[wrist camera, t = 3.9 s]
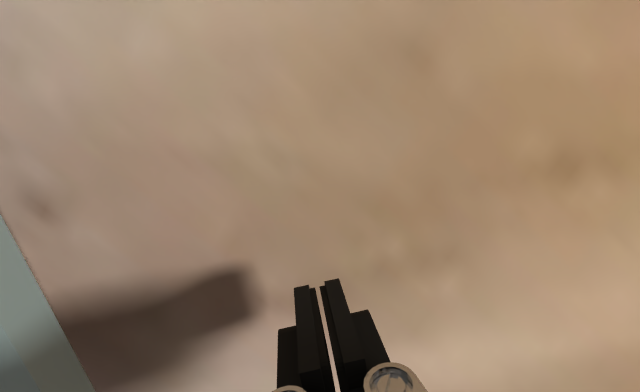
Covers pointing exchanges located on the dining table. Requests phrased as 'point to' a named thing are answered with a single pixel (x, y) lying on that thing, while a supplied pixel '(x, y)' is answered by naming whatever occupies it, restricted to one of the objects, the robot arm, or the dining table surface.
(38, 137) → the dining table surface
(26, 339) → the gate
